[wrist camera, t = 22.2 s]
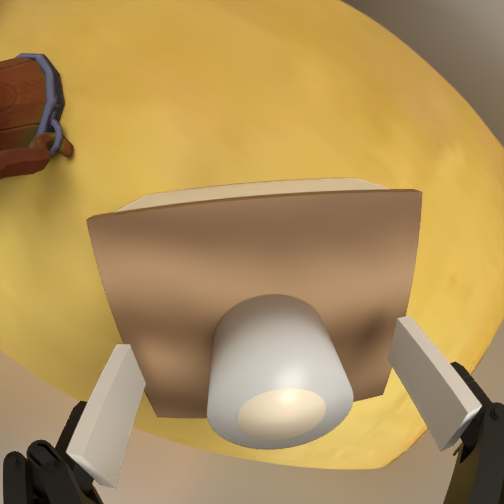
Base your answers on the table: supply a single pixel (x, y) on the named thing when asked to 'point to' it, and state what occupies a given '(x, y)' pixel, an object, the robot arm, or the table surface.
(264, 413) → the grey squat drum
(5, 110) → the mug
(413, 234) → the lid
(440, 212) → the table surface
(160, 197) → the box
